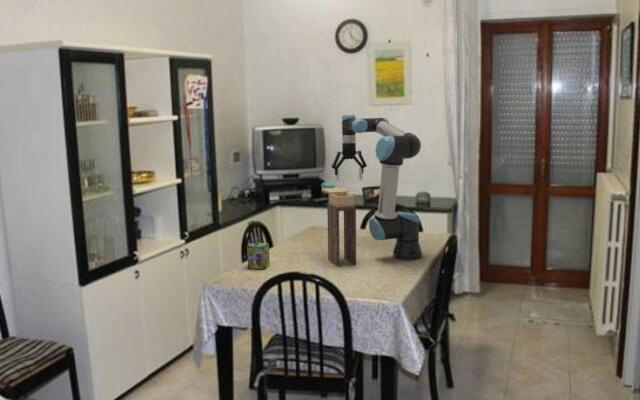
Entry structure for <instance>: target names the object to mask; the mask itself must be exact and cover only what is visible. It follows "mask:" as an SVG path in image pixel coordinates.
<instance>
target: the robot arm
mask: <svg viewBox="0 0 640 400" xmlns="http://www.w3.org/2000/svg"><path fill="white" fill-rule="evenodd" d="M362 133H377V134H379V135H381V136H382V137H380V139H378V141H377V143H376V146H375V156H376V158H377V159H378V161H379V164H380V165H381V174H380V184H379V193H378V196H379V197H378V205H377V210H376V211H375V212H374V216H373V217H372V218H370V220H369V221H368V229H369V232H370V235H371V236H372V238H373V239H374V240H375V241H387V240H388V241H389V240H393V239H396V240H395V244H394V248H393V251H392V257H393V258H395V259H398V260H405V261H406V260H407V261H410V260H419V259H421V258H423V251H422V248H421V245H420V241H419V240H420V218H419V215H418V214H417V213H413V212H406V211H398V212H396V206H397V205H396V203H397V193H398V186H399V185H398V184H399V183H398V182H399V175H400V167H402V166H403V165H404V160H407V159H408V160H409V159H412V158H414V157H416V156H417V155H418V154H419V153H420V152H421V148H422V142H421V140H420V138H419V137H418V136H417V135H416V134H413V132H412V133H411V132H406V131H404V130H402V129H400V128H398V127H396V126H395V125H393V124H391V123H390V121H389V120H388V118H386V117H367V118H357V117H356V115H355V114H343V115H342V116H341V134H342V135H341V138H342V141H341V142H342V144H341V146H342V147H341V149H342V150H341V151H338V150H337V152H336V156H335V158H334V160H333V162H332V165H331V168H332V169H334V175H335V176H336V178H335V179H336V182H340V167H341V165H342V164H343V163H344V162H345V160H354V162H355V163H356V164H357V165H358V166H359V168H358V179H359V180H361V181H363V174H364V169H365V168H366V167H368V165H367V163H366V161H365V159H364V156H363V155H362V150H356V149H357V146H356V145H357V143H356V142H357V139H356V136H357V135H356V134H362ZM356 155H357V156H358V157H357V156H356ZM340 158H341V159H340ZM358 158H359V159H358ZM339 159H340V160H339ZM360 161H361V162H360Z"/></svg>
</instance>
